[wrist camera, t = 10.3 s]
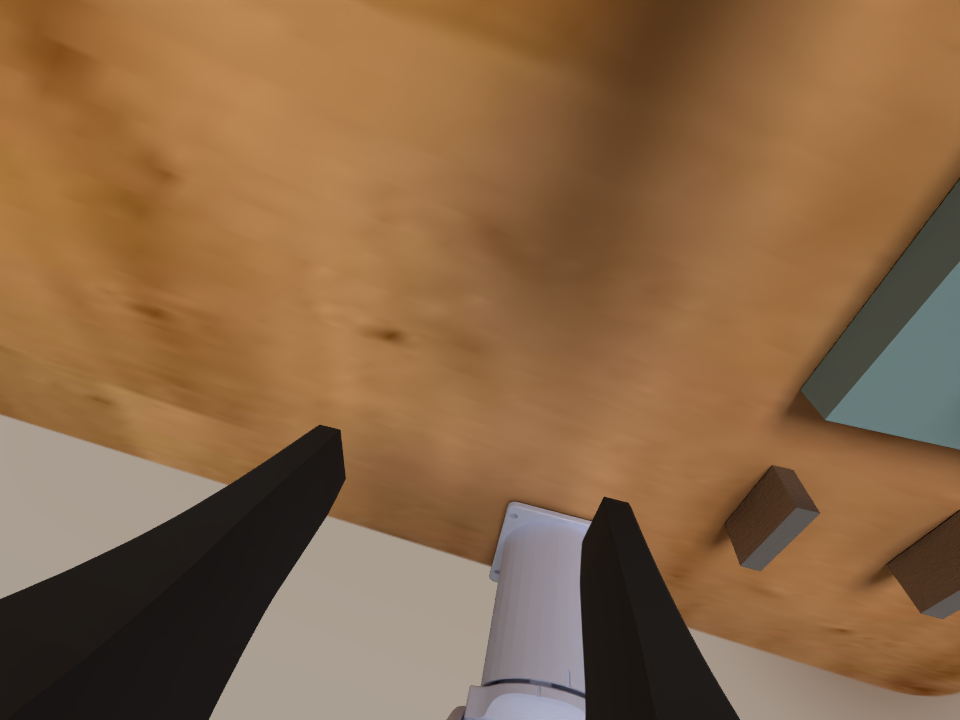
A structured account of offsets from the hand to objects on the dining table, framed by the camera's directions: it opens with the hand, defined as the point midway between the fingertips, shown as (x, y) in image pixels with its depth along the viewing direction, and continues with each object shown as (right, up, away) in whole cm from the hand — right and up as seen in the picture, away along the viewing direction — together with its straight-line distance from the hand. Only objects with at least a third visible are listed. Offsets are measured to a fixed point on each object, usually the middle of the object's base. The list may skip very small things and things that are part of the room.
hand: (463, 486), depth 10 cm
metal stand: (+19, -5, +10) cm, 22 cm away
